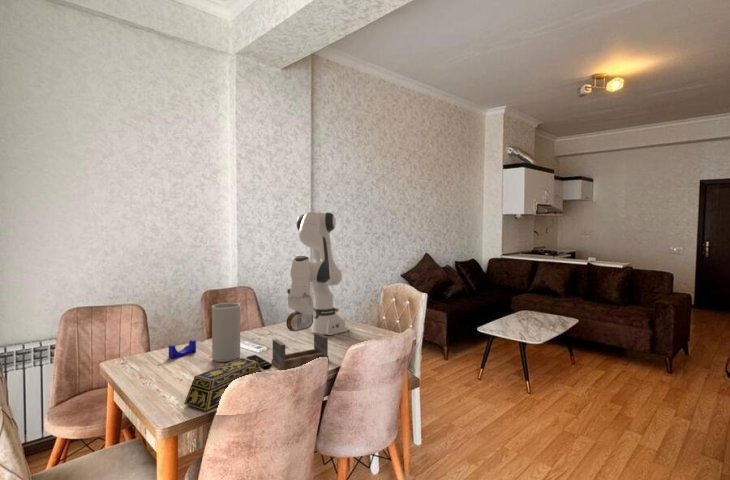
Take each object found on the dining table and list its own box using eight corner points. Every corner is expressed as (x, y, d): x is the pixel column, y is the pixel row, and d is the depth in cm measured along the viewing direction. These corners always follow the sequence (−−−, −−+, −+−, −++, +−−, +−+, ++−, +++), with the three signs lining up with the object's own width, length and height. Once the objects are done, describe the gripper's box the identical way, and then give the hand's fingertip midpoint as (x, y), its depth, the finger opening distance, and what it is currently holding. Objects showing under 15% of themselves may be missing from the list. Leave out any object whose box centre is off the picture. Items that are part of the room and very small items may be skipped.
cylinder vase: (231, 363, 177) (231, 308, 176) (206, 361, 179) (206, 307, 178) (245, 354, 189) (245, 303, 188) (221, 352, 191) (221, 302, 190)
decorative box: (183, 404, 137) (183, 379, 136) (246, 375, 163) (246, 354, 163) (205, 411, 132) (205, 385, 131) (266, 380, 158) (266, 358, 158)
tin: (310, 326, 185) (309, 309, 186) (315, 327, 184) (313, 309, 184) (286, 332, 173) (285, 314, 174) (291, 333, 172) (290, 314, 172)
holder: (318, 354, 190) (318, 332, 190) (328, 360, 182) (328, 337, 182) (271, 363, 177) (271, 339, 176) (279, 370, 168) (280, 345, 168)
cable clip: (190, 350, 194) (190, 339, 194) (195, 352, 192) (195, 340, 192) (167, 357, 185) (167, 344, 185) (172, 359, 182) (171, 346, 182)
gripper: (317, 294, 172) (317, 325, 172) (297, 288, 188) (297, 316, 189) (304, 295, 168) (304, 327, 168) (285, 289, 185) (285, 318, 185)
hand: (300, 321), depth 179 cm, fingers closed on tin, 3 cm apart
